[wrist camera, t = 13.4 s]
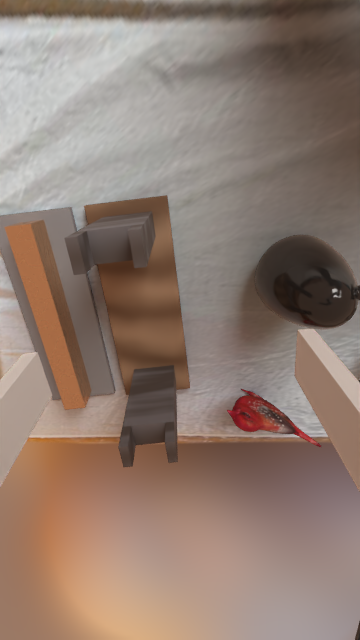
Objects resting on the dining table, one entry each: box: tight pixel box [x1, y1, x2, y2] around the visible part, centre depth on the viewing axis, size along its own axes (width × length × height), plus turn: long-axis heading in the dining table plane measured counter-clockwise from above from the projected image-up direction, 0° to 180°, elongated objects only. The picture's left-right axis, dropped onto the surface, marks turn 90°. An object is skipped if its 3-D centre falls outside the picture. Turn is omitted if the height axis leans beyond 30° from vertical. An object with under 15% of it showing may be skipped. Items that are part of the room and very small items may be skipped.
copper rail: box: [4, 220, 92, 410], centre depth 42 cm, size 26×3×4 cm, turn 6°
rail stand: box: [64, 196, 190, 467], centre depth 37 cm, size 28×10×16 cm, turn 6°
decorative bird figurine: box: [227, 389, 321, 447], centre depth 47 cm, size 3×18×10 cm, turn 60°
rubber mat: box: [0, 207, 115, 400], centre depth 44 cm, size 28×10×1 cm, turn 6°
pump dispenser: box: [255, 235, 360, 329], centre depth 36 cm, size 10×10×15 cm
